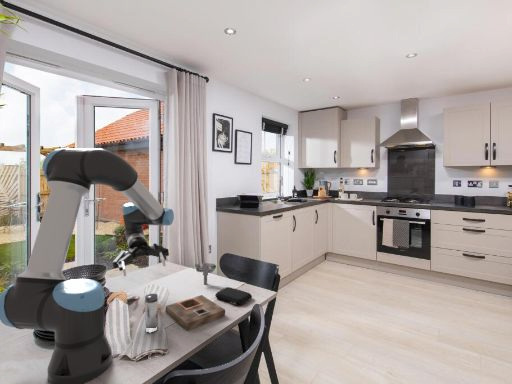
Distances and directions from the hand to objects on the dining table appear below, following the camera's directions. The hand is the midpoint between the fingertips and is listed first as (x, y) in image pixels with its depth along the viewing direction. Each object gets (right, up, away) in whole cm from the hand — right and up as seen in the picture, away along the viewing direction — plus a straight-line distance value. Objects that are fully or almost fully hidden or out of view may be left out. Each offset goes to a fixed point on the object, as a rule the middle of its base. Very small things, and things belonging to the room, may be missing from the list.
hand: (145, 267), depth 104 cm
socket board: (+17, -19, +6) cm, 26 cm away
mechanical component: (+16, -18, +36) cm, 43 cm away
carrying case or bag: (+30, -19, +20) cm, 41 cm away
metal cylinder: (+5, -20, -6) cm, 21 cm away
